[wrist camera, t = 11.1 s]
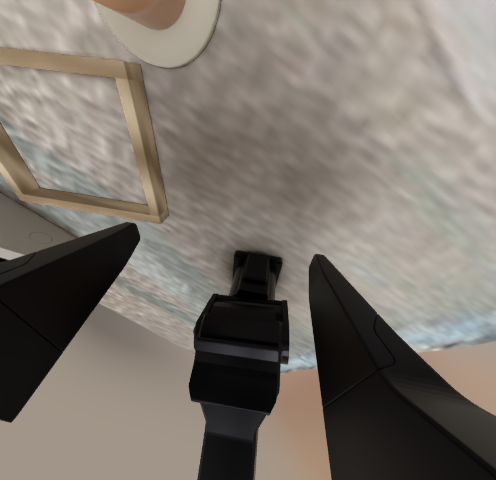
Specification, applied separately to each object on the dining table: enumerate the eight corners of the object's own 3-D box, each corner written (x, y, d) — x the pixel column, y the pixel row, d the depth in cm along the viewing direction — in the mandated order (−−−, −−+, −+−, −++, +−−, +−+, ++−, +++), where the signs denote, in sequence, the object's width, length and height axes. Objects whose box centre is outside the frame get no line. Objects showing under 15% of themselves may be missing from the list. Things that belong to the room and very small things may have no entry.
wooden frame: (168, 215, 24) (160, 223, 22) (37, 193, 25) (20, 200, 23) (140, 64, 15) (123, 61, 14) (-60, 41, 16) (-97, 36, 15)
